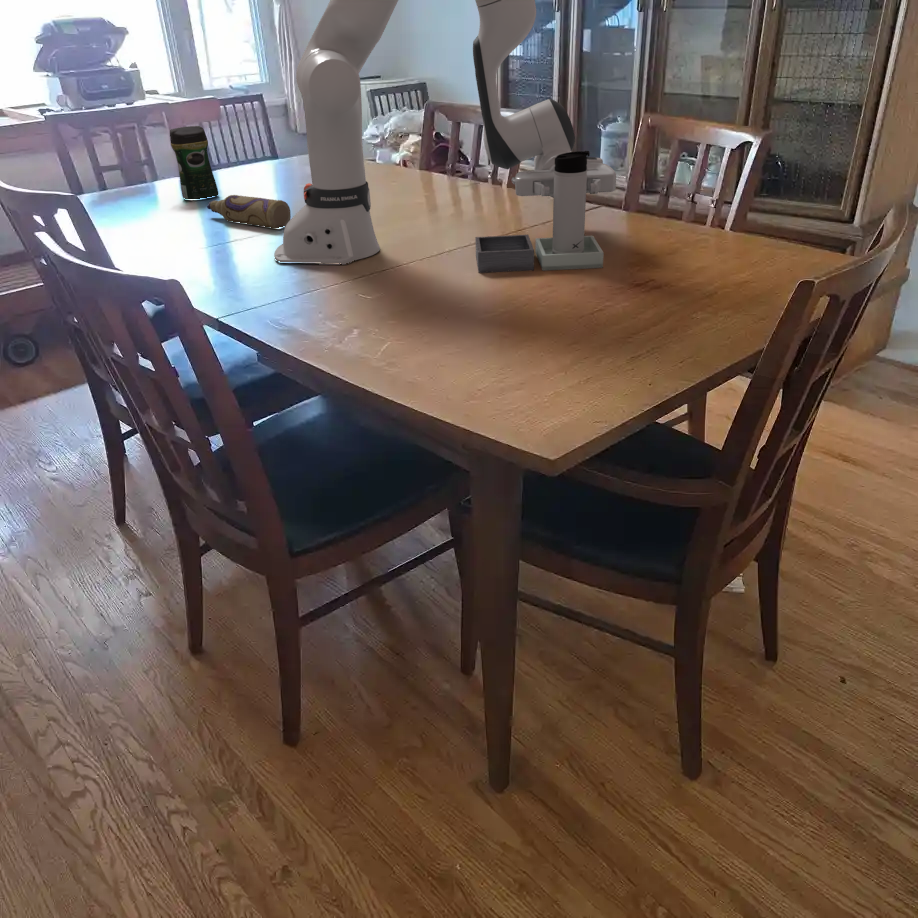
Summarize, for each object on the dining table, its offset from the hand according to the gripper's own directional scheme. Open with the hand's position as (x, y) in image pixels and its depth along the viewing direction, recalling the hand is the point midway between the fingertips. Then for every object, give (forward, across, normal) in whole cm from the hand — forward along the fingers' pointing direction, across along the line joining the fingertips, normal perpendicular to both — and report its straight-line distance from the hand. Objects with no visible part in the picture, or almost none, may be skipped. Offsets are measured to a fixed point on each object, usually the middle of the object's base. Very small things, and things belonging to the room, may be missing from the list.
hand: (570, 190), depth 154 cm
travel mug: (0, 0, +13) cm, 13 cm away
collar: (0, -13, +14) cm, 19 cm away
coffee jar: (-70, -92, +14) cm, 117 cm away
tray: (0, 0, +14) cm, 14 cm away
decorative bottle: (-42, -72, +14) cm, 85 cm away
